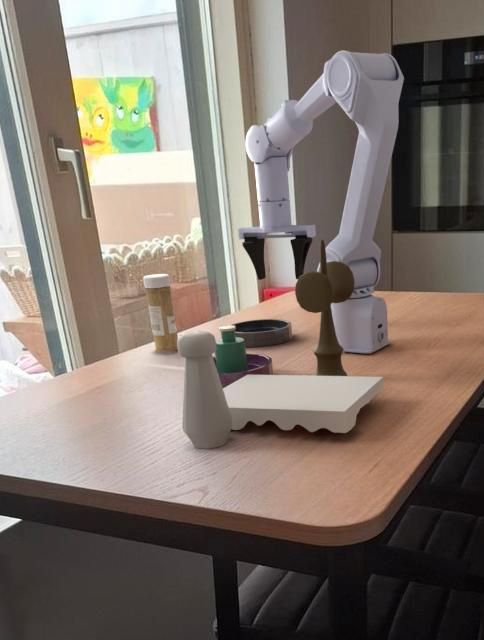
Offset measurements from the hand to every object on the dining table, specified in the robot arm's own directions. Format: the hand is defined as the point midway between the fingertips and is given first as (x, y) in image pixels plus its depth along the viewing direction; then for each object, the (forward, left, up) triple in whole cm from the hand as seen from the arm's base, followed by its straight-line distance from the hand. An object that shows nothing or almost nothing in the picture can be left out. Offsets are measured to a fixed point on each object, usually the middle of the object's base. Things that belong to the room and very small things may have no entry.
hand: (280, 278), depth 131 cm
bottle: (-11, +31, -10) cm, 34 cm away
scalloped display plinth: (-28, +41, -11) cm, 51 cm away
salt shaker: (-24, +53, -11) cm, 59 cm away
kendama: (-25, +26, -11) cm, 38 cm away
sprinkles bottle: (+14, +18, -11) cm, 25 cm away
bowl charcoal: (+1, +7, -10) cm, 13 cm away
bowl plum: (-11, +31, -10) cm, 35 cm away
